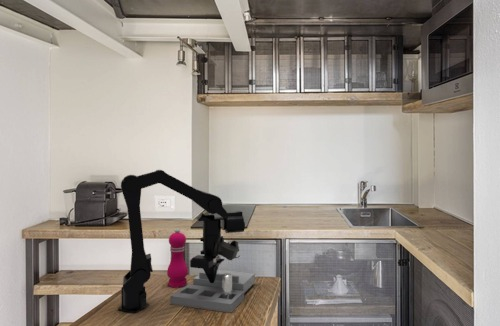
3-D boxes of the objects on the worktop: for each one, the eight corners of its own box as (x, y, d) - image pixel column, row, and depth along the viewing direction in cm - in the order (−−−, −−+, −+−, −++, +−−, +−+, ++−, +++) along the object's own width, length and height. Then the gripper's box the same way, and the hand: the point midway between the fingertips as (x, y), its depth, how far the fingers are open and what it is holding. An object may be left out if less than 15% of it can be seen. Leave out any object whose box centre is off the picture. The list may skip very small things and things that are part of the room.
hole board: (170, 304, 110) (170, 295, 110) (188, 291, 120) (188, 284, 120) (231, 312, 103) (231, 304, 103) (244, 298, 114) (244, 291, 114)
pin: (220, 305, 109) (220, 275, 109) (224, 301, 111) (224, 272, 111) (229, 306, 108) (229, 276, 108) (233, 302, 110) (233, 273, 110)
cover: (193, 287, 122) (193, 272, 122) (207, 277, 132) (207, 263, 132) (243, 293, 116) (243, 278, 116) (254, 282, 126) (254, 268, 126)
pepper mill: (191, 282, 130) (191, 226, 130) (182, 289, 123) (182, 230, 123) (173, 280, 132) (173, 226, 132) (163, 287, 125) (163, 229, 125)
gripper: (223, 242, 103) (223, 296, 103) (245, 230, 121) (245, 276, 121) (188, 239, 107) (189, 291, 107) (215, 228, 124) (215, 273, 124)
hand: (212, 282), depth 114 cm, fingers closed
